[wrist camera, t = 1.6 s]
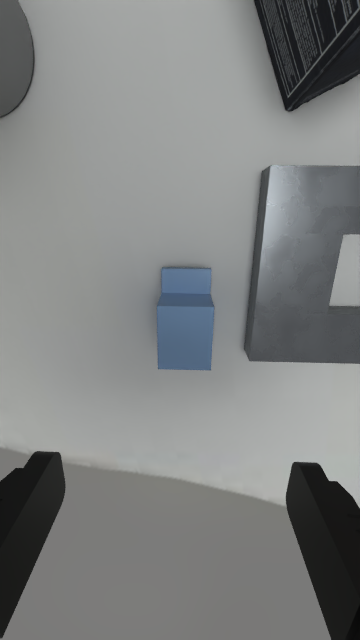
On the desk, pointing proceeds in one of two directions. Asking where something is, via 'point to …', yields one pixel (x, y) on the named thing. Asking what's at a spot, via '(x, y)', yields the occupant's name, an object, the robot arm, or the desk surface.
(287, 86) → the small box
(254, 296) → the plate
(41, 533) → the robot arm
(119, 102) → the desk surface
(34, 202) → the desk surface
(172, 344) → the block
